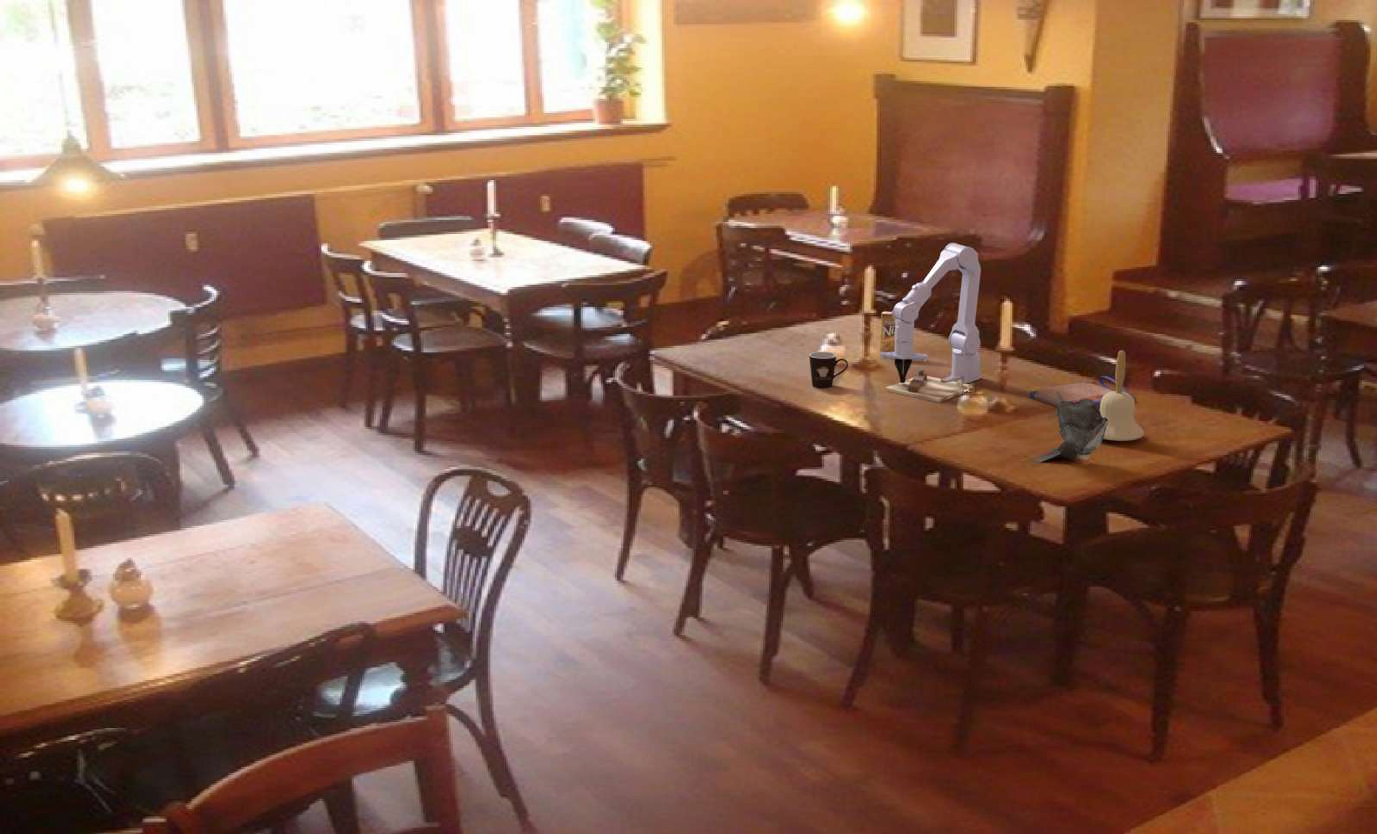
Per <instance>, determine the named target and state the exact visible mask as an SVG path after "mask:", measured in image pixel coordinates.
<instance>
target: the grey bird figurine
mask: <svg viewBox="0 0 1377 834" xmlns="http://www.w3.org/2000/svg"><path fill="white" fill-rule="evenodd" d="M1057 397H1058V406H1057V407H1056V412H1055V416H1054V419H1056V418H1057V421H1058V425H1059V428H1058V429H1059V430H1058V431H1059V435H1060V436H1061V438H1062V440H1064V441H1062V443H1061V444H1060V445H1059V446H1058V447H1052V449H1051V451H1049V452H1047V453H1045V454H1042V455H1039V456H1037V457H1036V458H1033V459H1032V461H1034V462H1037V463H1043V462H1046V461H1050V460H1053V459H1058V458H1063V459H1066V460H1071V461H1073V462H1074V463H1076V464H1077V465H1080V466H1086V465H1089V464H1090V462H1091V461H1090V460H1091V458H1090V456H1091V454H1092V453H1093V451H1096V450H1097V449H1098V448H1099V447H1100V446H1101V445H1102V442H1103V440H1104V439H1103V438H1104V435H1105V432H1106V427H1107V425H1108V422H1109V421H1108V419H1107V418H1105V417H1104V418H1103V417H1102V416H1101V413H1100V407H1097V405H1096V404H1095V402H1094V401H1092V400H1090V399H1082V400H1079V401H1077V402H1073V401H1063V399H1062V398H1061V396H1060V394H1059V393H1058V391H1057Z"/></svg>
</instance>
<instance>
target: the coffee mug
mask: <svg viewBox="0 0 1377 834" xmlns="http://www.w3.org/2000/svg"><path fill="white" fill-rule="evenodd" d="M808 356H809V357H808V358H809V365H810V368H809V369H810V376H811V386H812V387H813V388H816V389H829V388H832V387H833V384H834V383H833V382H834V379H835V378H836V377H838V376H839V375H841V374H843V373H844V372H845V371H846V370H847V369H848V367H849V362H848V360H847V359H845V358H839V359H837V354H836V353H833V352H829V351H814V352H811V353H809V355H808ZM841 361H842V362H845V364H846V365H845V367H844V368H843V369H842V370H841V371H839V372H838V373H835V369H836V368H835V367H837V364H838V363H839V362H841Z"/></svg>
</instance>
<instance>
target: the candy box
mask: <svg viewBox="0 0 1377 834" xmlns="http://www.w3.org/2000/svg"><path fill="white" fill-rule="evenodd" d="M880 321H881V322H880V343H879V344H880V345H879V354H880V353H881V352H895V318H894V317H893V315H892V311H886V310H885V311H884V310H883V312H881V315H880Z"/></svg>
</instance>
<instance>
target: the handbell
mask: <svg viewBox="0 0 1377 834" xmlns="http://www.w3.org/2000/svg"><path fill="white" fill-rule="evenodd" d="M1114 374H1115V376H1114V377H1115V379H1114V380H1115V381H1116V383H1115V390H1114V391H1112V392H1109V393H1107V394H1105V395H1104V396H1103V397H1102V399H1101V403H1100V407H1099V410H1100V413H1101V416H1102V417H1103V418H1104V417H1105V418H1107V419H1108V421H1109V422H1108V425H1107V427H1106V432H1105V435H1104V438H1103V440H1109V441H1120V442H1121V441H1122V442H1123V441H1134V440H1138V439H1141V438H1142V437H1143V436H1144V435H1145V431H1144V430H1143V428H1142V427H1141V426H1140V425H1139V424H1138V423H1137V422H1136V420H1135V407H1136V403H1135V400H1134V399H1133V398H1132V396H1133V395H1132V396H1130V395H1129V394H1128V393H1125V392H1124V391H1123V390H1122V386H1123V385H1124V381H1125V376H1126V352H1125V350H1119V351H1118V352H1117V359H1116V365H1115V373H1114ZM1123 387H1124V386H1123Z"/></svg>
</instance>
